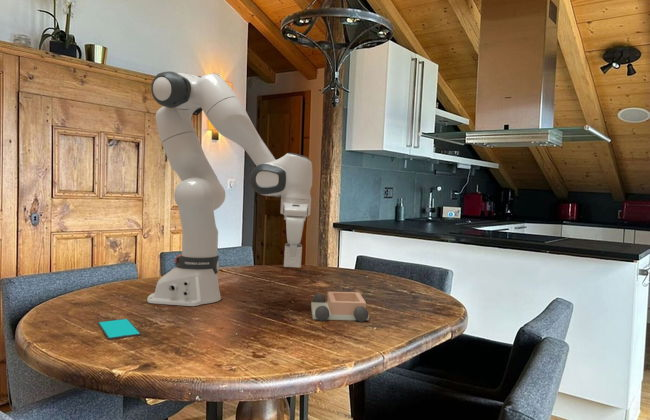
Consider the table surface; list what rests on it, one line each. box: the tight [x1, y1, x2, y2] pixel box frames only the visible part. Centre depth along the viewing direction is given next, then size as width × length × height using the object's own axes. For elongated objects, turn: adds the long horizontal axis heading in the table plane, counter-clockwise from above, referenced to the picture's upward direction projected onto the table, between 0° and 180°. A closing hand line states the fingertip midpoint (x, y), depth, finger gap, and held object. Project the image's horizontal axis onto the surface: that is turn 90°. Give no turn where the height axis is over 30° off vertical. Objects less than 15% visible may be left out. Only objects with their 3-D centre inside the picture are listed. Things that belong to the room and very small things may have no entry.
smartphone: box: [97, 318, 142, 341], centre depth 115 cm, size 7×1×15 cm
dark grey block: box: [283, 242, 303, 269], centre depth 137 cm, size 5×4×6 cm
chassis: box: [310, 291, 370, 323], centre depth 139 cm, size 16×17×5 cm
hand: (292, 255), depth 137 cm, fingers closed on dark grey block, 4 cm apart
